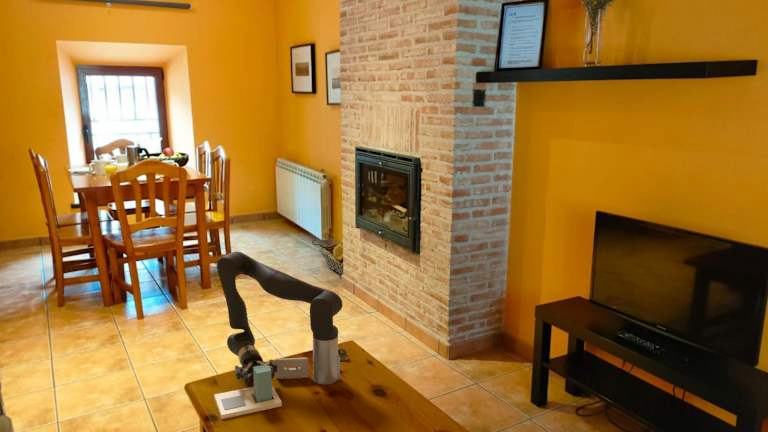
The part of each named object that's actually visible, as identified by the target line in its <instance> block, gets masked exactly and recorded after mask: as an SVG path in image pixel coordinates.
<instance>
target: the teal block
mask: <svg viewBox="0 0 768 432" xmlns="http://www.w3.org/2000/svg"><path fill="white" fill-rule="evenodd" d="M252 376H253V387H254V398H253V399H254V401H255V403H259V402H264V401H269V400H273V399H272V386H273V384H272V379H271V369H270V368H269V366H268V364H266V365H261V366H255V367H253V374H252Z"/></svg>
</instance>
